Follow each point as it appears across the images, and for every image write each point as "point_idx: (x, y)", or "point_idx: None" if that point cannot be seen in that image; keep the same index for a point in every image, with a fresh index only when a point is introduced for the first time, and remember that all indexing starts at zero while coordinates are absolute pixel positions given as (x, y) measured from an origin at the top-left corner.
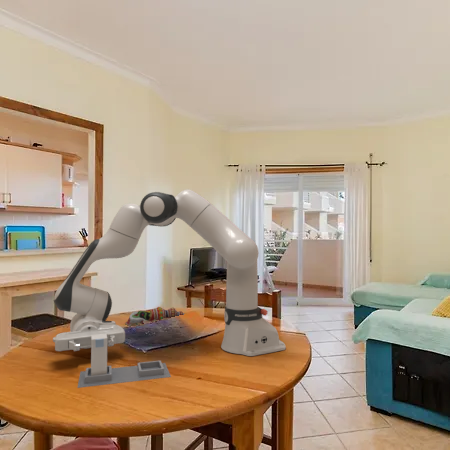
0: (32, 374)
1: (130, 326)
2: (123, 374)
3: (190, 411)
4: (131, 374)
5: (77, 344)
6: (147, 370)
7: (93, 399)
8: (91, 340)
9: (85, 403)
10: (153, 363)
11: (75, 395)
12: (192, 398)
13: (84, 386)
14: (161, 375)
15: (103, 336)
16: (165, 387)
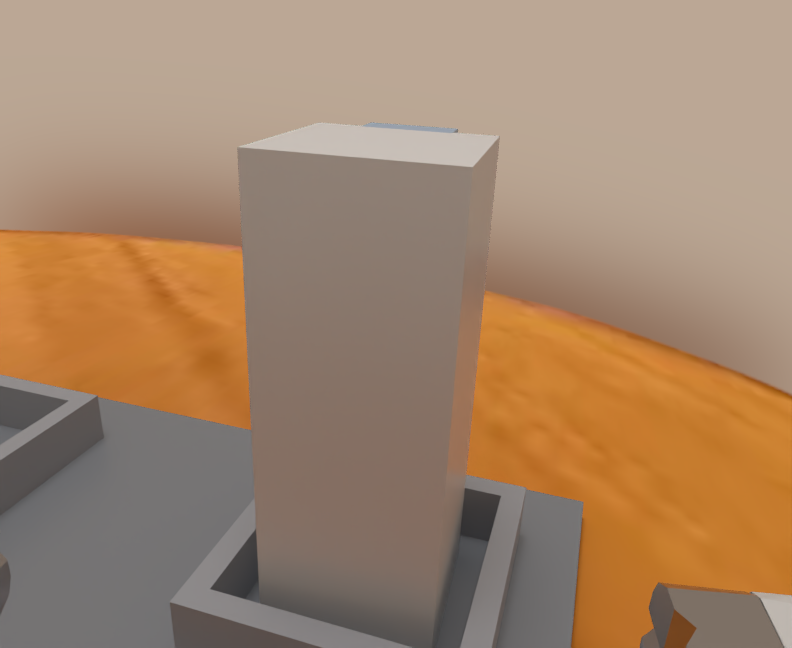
0: None
1: None
2: (148, 525)
3: (200, 251)
4: (100, 494)
5: (726, 604)
6: (42, 384)
7: (486, 398)
8: (483, 196)
9: (533, 388)
10: None
11: (591, 467)
12: (115, 275)
13: (527, 495)
14: None
15: (330, 135)
16: (97, 344)
